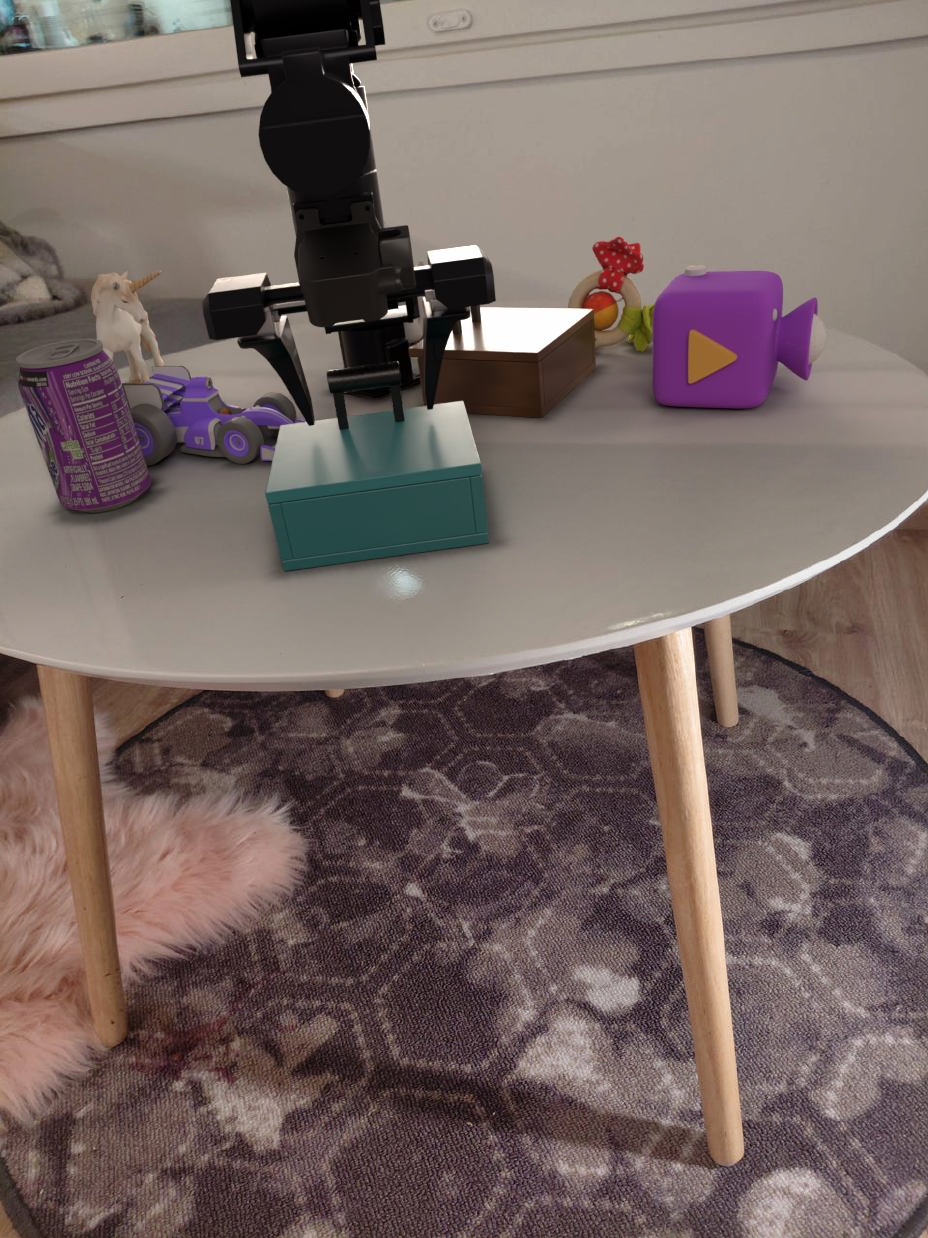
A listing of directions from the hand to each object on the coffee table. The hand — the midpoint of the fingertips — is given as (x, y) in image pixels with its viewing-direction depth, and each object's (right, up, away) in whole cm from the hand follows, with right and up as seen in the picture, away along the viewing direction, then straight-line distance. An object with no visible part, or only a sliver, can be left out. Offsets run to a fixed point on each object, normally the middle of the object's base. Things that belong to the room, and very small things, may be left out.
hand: (370, 415), depth 67 cm
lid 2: (+10, +11, +19) cm, 24 cm away
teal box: (+1, -7, 0) cm, 8 cm away
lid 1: (+1, -3, -2) cm, 4 cm away
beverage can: (-22, -5, +9) cm, 24 cm away
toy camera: (+30, +5, +14) cm, 33 cm away
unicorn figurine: (-25, +10, +33) cm, 42 cm away
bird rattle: (+22, +13, +28) cm, 38 cm away
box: (+11, +7, +21) cm, 25 cm away
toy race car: (-15, +1, +16) cm, 22 cm away
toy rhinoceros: (0, +18, +42) cm, 46 cm away
